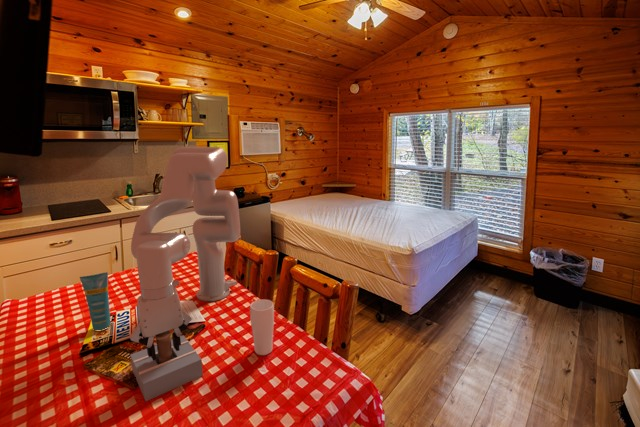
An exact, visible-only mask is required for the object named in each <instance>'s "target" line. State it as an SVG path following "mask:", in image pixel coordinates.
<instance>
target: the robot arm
mask: <svg viewBox="0 0 640 427" xmlns="http://www.w3.org/2000/svg"><path fill="white" fill-rule="evenodd" d="M227 166H228V155H227V152H226V150H224V149H223V147H220V146H219V147H218V146H181V147H178V148H176V149H174V150H173V152H172V155H171V156H170V157H169V158H168V161H167V165H166V169H165V173H164V178H163V181H162V187H161V192H160V195H159V197H158V198H156V200H154V201H153V202H151V203H150V204H149V205H148V206H147V207H146V208H145V210H143V211H142V212H141V214H140V215H139V216H138V218H137V219H136V222H135V224H134V229H133V233H132V237H131V242H130V243H131V244H130V250H131V255H132V256H133V257H134V258H135V260H136V265H137V273H138V280H139V286H140V289H139V290H140V294H141V295H140V296H138V298H137V304H136V306H137V307H136V310H137V312H136V313H137V314H136V315H137V325H136V326H135V328H134V329H133V331H132V332H131V334H130V335H129V339H130V341H132V342H135V343H139V344H140V345H142V346H145V347H146V349H147V353H148V356H149V357H150V356H151V357H152V359H153V360H155V359H156V353H155V345H154V338H155V335H157V334H160V333H163V332H166V331H171V330H173V332H172V333H171V336H172V338H171V340H172V339H173V346H174V348H175V349H176V351H179V350H180V349H179V345H181V340H180V336H183V331H185V329H186V327H187V326H188V325H189V324H190V322H191V321H192V317H191V316H190V315H188V314H187V313H185V312H184V311H183V309H182V304H181V300H180V297H179V293H178V290H177V289H176V287H177V286H179V285H180V281H179V279H177V280H176V279H175V280H174V276H173V266H172V265H173V264H176V263H177V262H180V261H181V260H184V259H185V257H187V255H188V254H189V252H190V250H191V241H190V238H189V237H188V235H186V234H185V233H181V232H152V231H153V229H154V228H155V226H156V225H157V224H158V223H159V222H160V221H162V220H164V219H165V218H167V217H169V216H171V215H173V214H175V213H178V212H180V211H182V210H185V209H187V208H189V207H190V206H191V204H192V206H193V211H194V212H195V213H196V214H197V215H198V216H202V217H200V218H197V219H196V220H195V221H194V222H193V223H192V235H193V238H194V242H195V246H196V253H197V263H198V264H197V266H198V276H199V278H198V279H199V290H198V291H197V292H196V298H197V300H200V301H201V302H215V301H216V302H217V301H220V300H222V299H224V298H227V297H228V296H229V295H230V293H231V292H230V287H233V286H236V285H237V284H238V283H237V280H236V279H235V280H231V279H228V280H226V277H225V276H226V275H225V263H224V262H225V261H224V251H223V248H222V247H221V245H220V244H219V243H233V242H237V241H238V240H239V239H240V237H241V222H240V221H241V218H240V209H239V201H238V197H237V195H236V193H235V192H234V191H232V190H227V189H224V190H223V189H219V190H218V189H217V188H216V181H215V180H217V179H218V178H219V177H220V176H221V175H222V174H223V173H224V172H225V171H226V169H227ZM140 334H141V335H140Z"/></svg>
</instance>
